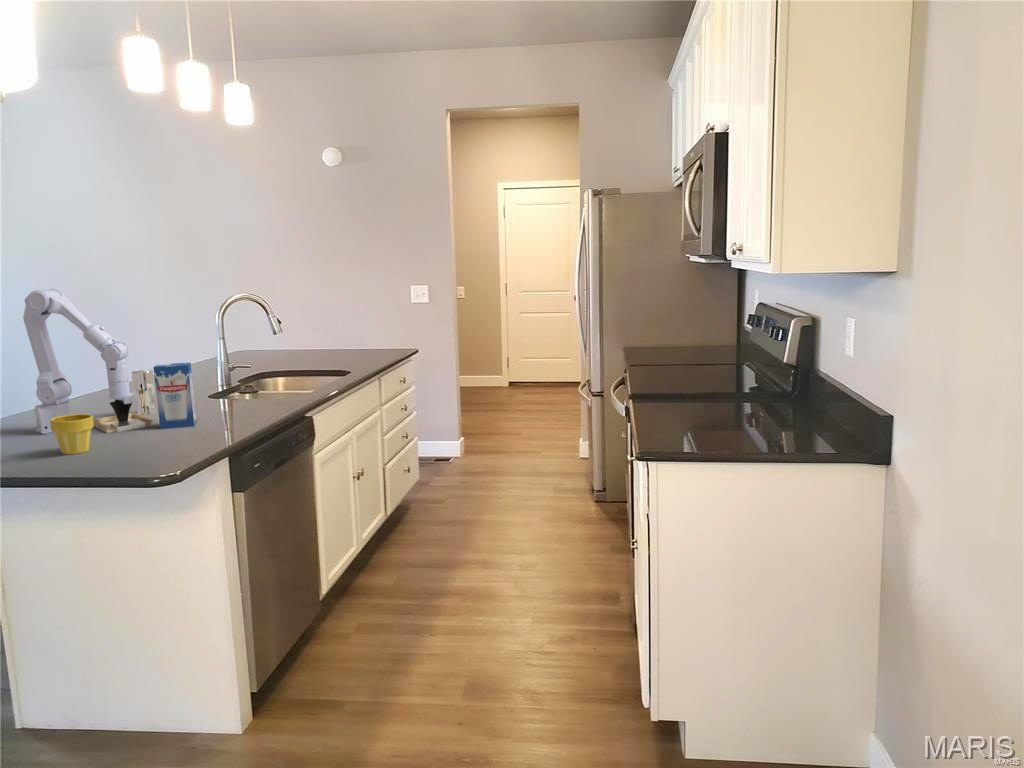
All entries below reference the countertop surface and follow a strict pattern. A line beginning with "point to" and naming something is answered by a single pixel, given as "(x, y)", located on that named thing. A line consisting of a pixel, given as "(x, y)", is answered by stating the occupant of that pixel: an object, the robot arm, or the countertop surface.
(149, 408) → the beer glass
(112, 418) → the tray
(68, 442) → the plant pot
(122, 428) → the cover plate
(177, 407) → the milk carton
